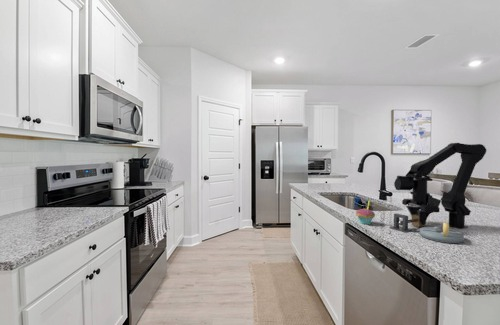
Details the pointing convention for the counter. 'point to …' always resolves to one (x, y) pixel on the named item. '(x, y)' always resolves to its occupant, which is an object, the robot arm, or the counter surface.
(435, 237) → the handwheel
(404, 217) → the eye bracket
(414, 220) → the grey brown long block
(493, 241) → the counter surface
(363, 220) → the cupcake
